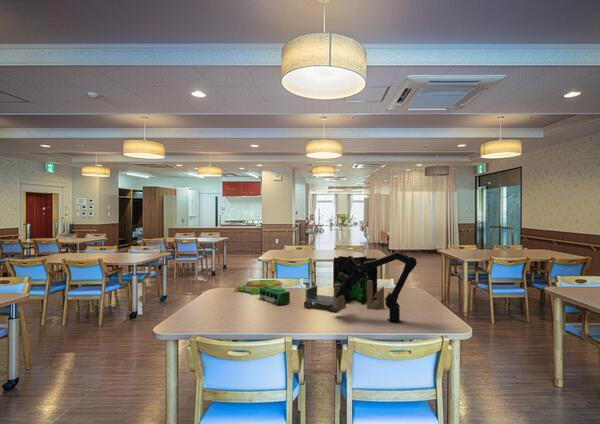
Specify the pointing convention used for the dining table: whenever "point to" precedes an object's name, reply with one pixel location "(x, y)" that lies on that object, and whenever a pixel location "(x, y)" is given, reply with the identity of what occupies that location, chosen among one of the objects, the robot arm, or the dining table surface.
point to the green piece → (257, 285)
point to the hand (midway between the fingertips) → (336, 295)
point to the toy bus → (275, 295)
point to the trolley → (319, 299)
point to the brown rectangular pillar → (338, 298)
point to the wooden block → (370, 297)
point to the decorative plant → (360, 288)
